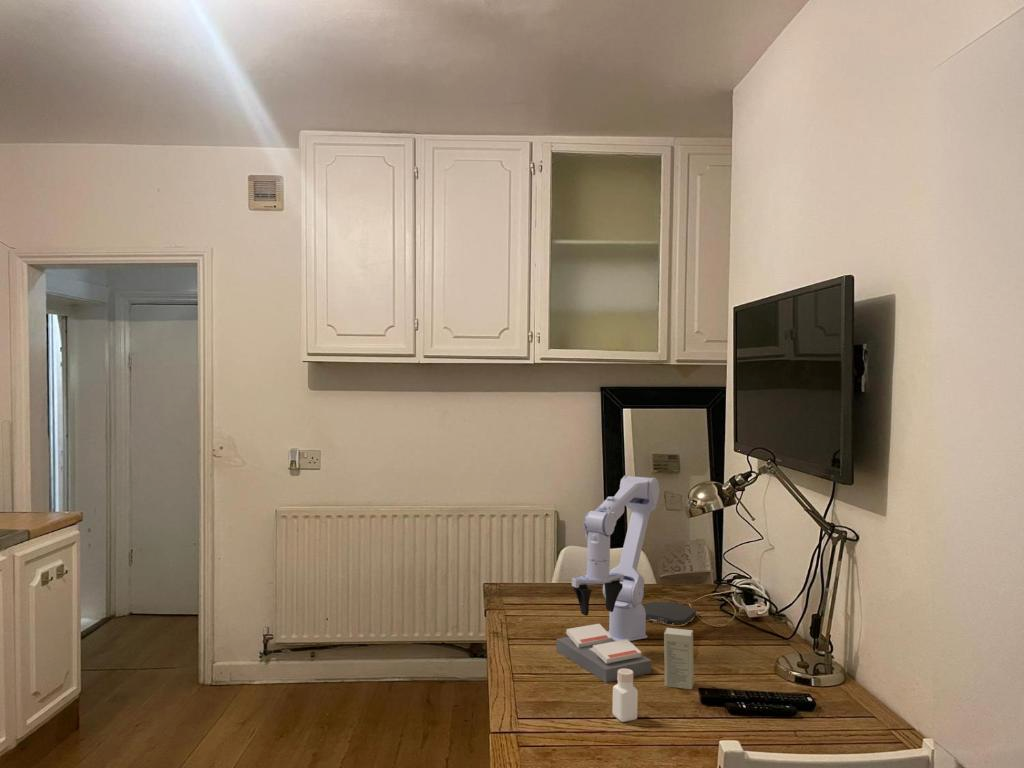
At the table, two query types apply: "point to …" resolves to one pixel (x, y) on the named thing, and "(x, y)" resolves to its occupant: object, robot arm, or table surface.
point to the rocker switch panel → (601, 661)
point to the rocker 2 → (616, 651)
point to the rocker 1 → (588, 635)
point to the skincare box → (678, 658)
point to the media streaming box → (669, 612)
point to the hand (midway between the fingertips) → (597, 612)
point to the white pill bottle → (625, 696)
